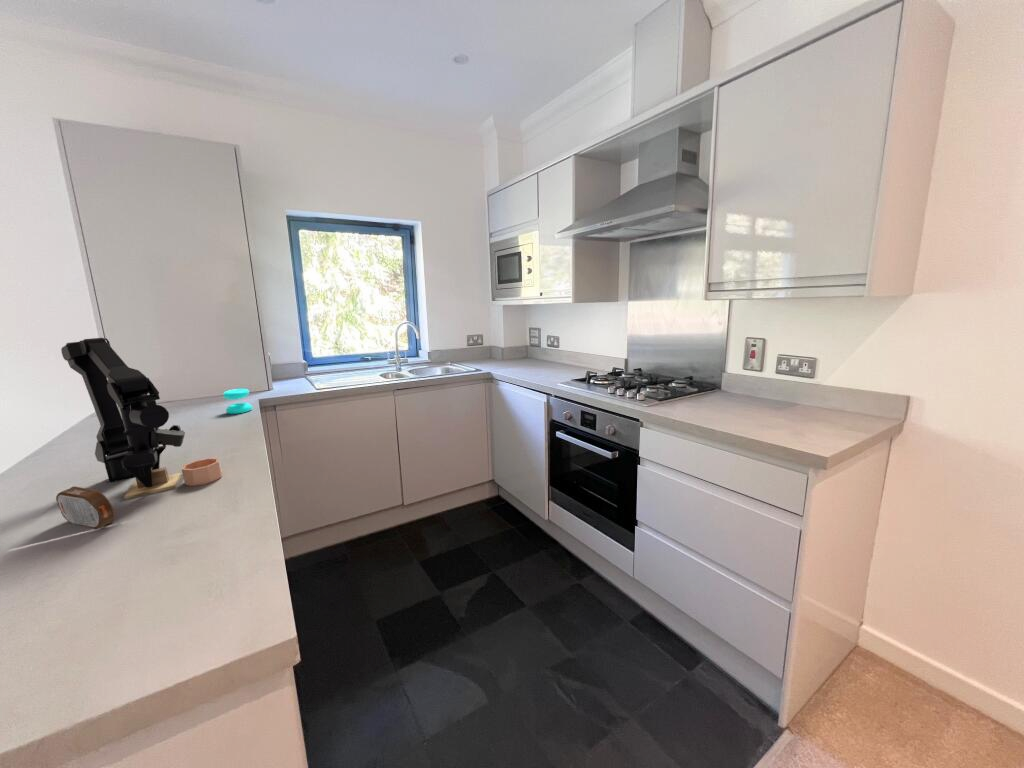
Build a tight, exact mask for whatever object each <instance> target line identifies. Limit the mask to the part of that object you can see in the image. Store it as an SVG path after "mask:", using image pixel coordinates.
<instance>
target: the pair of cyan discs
mask: <svg viewBox="0 0 1024 768" xmlns="http://www.w3.org/2000/svg"><path fill="white" fill-rule="evenodd" d="M249 394H250V390H249V389H247V388H236V389H229V390H226V391H224V392H223V394H222V397H223V398H224V399H226V400H231V401H232V400H240V399H244V398H246V397H247V396H248V395H249ZM252 409H253V406H252V404H251V403H248V402H238V403H233V404H231V405H229V406H227V407H226V409H225V412H226V413H227V414H228V415H237V414H238V415H239V414H243V413H247V412H250V411H252Z"/></svg>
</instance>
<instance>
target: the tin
mask: <svg viewBox="0 0 1024 768" xmlns="http://www.w3.org/2000/svg"><path fill="white" fill-rule="evenodd" d="M55 498H56V499H55V500H56V502H57V505H58V508H59V511H60V513H61V515H62V517H63V518H64V519H65V520H66V521H67V522H69V523H70V524H72V523H73V525H77V526H82V527H88V528H92V529H94V528H95V529H94V530H96V529H97V530H98V528H99V529H101V528H103V527H105V526H107V525H109V524H112V523H113V522H114V520H115V516H116V515H115V510H114V507H113V506H112V503H111V502H110V500H109V499H108V498H107V496H106V495H105V494H103V493H102V491H101V492H100V490H97V489H93V488H85V487H80V486H79V487H78V486H71V487H69V488H67V489H64V490H62V491H60V492H58V493H57V495H56V496H55Z"/></svg>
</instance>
